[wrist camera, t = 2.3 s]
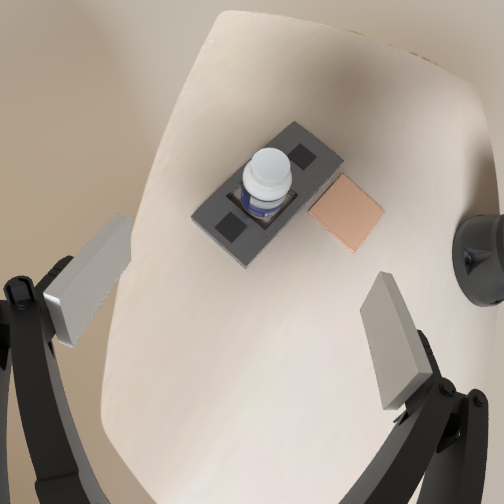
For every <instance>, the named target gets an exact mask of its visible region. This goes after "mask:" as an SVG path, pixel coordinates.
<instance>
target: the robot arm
mask: <svg viewBox="0 0 504 504" xmlns="http://www.w3.org/2000/svg"><path fill="white" fill-rule="evenodd" d="M130 261H131V216H128V215H124V214H119V213H118V214H117V215H116V216H115V217H114V218H113V219H112V220H110V221H109V222H108V223H107V224H106V225H105V226H104V227H103V228H102V229H101V231H99V232H98V234H96V235H95V236H94V237H93V238H92V240H90V242H88V243H87V245H86V246H85V247H84V248H83V249H82V250H81V251H80V252H79V253H78V254H77V255H76V256H75V257H72V256H66V257H65V258H63V259H61V260H59V261H58V262H57V263H56V264H55V265H54V267H53V269H51V270H50V271H49V272H48V274H46V275H45V276H44V277H43V278H42V280H41V281H40V282H39V283H38V284H37V285H36V286H35V287H34V285H33V282H32V279H30V278H29V277H27V276H17V277H14V278H12V279H11V280H9V281H8V282H7V283H6V284H5V286H4V289H3V290H4V293H5V296H6V299H7V300H0V504H10V494H9V483H8V471H7V450H6V429H7V405H8V392H9V381H10V373H11V365H13V374H14V381H15V388H16V395H17V400H18V406H19V411H20V416H21V421H22V426H23V430H24V434H25V438H26V442H27V446H28V449H29V453H30V457H31V460H32V463H33V466H34V470H35V473H36V477H37V480H36V482H35V490H36V493H37V496H38V499H39V502H40V504H111V503H110V502H109V500H108V498H107V497H106V495H105V494H104V493H103V491H102V489H101V487H100V485H99V483H98V481H97V479H96V477H95V475H94V473H93V470H92V468H91V466H90V463H89V461H88V458H87V456H86V454H85V451H84V449H83V446H82V443H81V441H80V438H79V435H78V433H77V430H76V427H75V424H74V421H73V418H72V415H71V412H70V409H69V405H68V402H67V399H66V395H65V392H64V388H63V385H62V381H61V377H60V373H59V369H58V365H57V360H56V356H55V351H54V346H53V342H52V340H51V339H52V338H53V336H54V335H55V333H56V335H57V338H58V341H59V342H60V343H62V344H64V345H67V346H69V347H72V348H74V346H75V345H76V343H77V341H78V340H79V338H80V336H81V335H82V333H83V332H84V330H85V328H86V327H87V325H88V324H89V322H90V320H91V319H92V317H93V316H94V314H95V313H96V311H97V310H98V308H99V306H100V305H101V303H102V302H103V300H104V299H105V297H106V296H107V294H108V293H109V291H110V290H111V288H112V287H113V286H114V284H115V283H116V281H117V280H118V278H119V277H120V275H121V274H122V273H123V271H124V270H125V268H126V267H127V265H128V264H129V263H130ZM453 264H454V270H455V274H456V278H457V281H458V283H459V286H460V288H461V290H462V291H463V293H464V294H465V296H466V297H467V298H468V299H469V300H470V301H471V302H472V303H473V304H475V305H477V306H480V307H487V306H494V305H497V304H499V303H501V302H502V301H504V214H503V215H477V216H474V217H472V218H470V219H468V220H466V221H464V222H463V223H462V224H461V225H460V226H459V228H458V230H457V232H456V235H455V238H454V243H453ZM360 313H361V317H362V320H363V324H364V328H365V332H366V336H367V340H368V344H369V348H370V352H371V356H372V360H373V364H374V369H375V373H376V378H377V382H378V387H379V392H380V397H381V402H382V407H383V410H398V409H399V408H400V407H401V406H402V405H403V404H404V403H405V406H406V410H405V411H404V412H403V413H402V414H401V415H400V416H399V417H397V418H396V419H395V420H394V421H393V422H394V423H395V422H397V423H396V425H395V426H394V428H393V430H392V431H391V433H390V434H389V436H388V438H387V439H386V441H385V442H384V444H383V445H382V447H381V448H380V450H379V451H378V453H377V454H376V456H375V457H374V458H373V460H372V461H371V463H370V464H369V465H368V467H367V468H366V470H365V471H364V472H363V474H362V475H361V476H360V478H359V479H358V480H357V482H356V483H355V484H354V485H353V487H352V488H351V489H350V490H349V492H348V493H347V494H346V495H345V497H344V498H343V499H342V500H341V501H340V502H339V504H408V502H409V500H410V499H411V497H412V495H413V493H414V492H415V490H416V488H417V486H418V484H419V482H420V481H421V479H422V477H423V475H424V473H425V476H424V479H423V483H422V487H421V490H420V494H419V497H418V501H417V504H481V500H482V493H483V487H484V480H485V471H486V461H487V448H488V400H487V398H486V396H485V394H484V393H483V392H481V391H480V390H478V389H472V390H471V391H470V392H469V393H468V394H467V395H465V394H462V393H459V392H456V388H455V386H454V385H453V383H452V382H451V381H450V380H448V379H446V378H444V377H442V376H441V373H440V370H439V367H438V365H437V362H436V360H435V357H434V355H433V352H432V349H431V348H430V345H429V342H428V340H427V338H426V336H425V335H424V334H423V333H422V331H421V330H416V327H415V325H414V323H413V320H412V318H411V316H410V313H409V311H408V309H407V306H406V304H405V302H404V300H403V297H402V295H401V293H400V291H399V289H398V286H397V284H396V282H395V280H394V278H393V276H392V274H389V273H385V272H381V271H380V272H379V274H378V276H377V278H376V280H375V282H374V284H373V286H372V288H371V290H370V291H369V293H368V295H367V297H366V299H365V301H364V303H363V305H362V307H361V308H360ZM459 433H460V435H459ZM425 471H426V472H425Z"/></svg>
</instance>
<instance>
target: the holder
mask: <svg viewBox="0 0 504 504" xmlns="http://www.w3.org/2000/svg"><path fill="white" fill-rule="evenodd" d="M264 148H275V149H278V150H280V151H282V152H283V153H284V154H285V155H286V156H287V157H288V159H289V161H290V171H291V174H292V183H291V186H290V189H289V191H288V193H289V194H290V195H291V196H293V197H294V198H295V200H294V201H293V202H292V203H291V204H290V205H289V206H288V207H287V208H286V209H285V210H284V211H283V212H282V213H281V214H280V215H279V216H278V218H277V219H276V220H275V221H274V222H273V223H272V224H271V225H270V226H269V227H268V228H267V229H266V230H264V229H263V228H261V227H260V226H259V225H258V224H257V223H256V222H255V221H254V220H252V219H251V218H250V217H249V216H248V215H247V214H245V213H244V212H243V211H242V210H241V209H240V208H239V207H237V206H236V205H235V204H234V203H233V202H232V201H231V200H229V199H228V198H229V197H230V196H231V195H232V194H233V193H234V192H235V191H236V190H237V189H238V188H239V187H240V186H241V185H242V178H243V172H244V168H245V166H246V165H247V163H248V162H249V161H250V160H249V161H248V162H247V163H246V164H245V165H244V166H243V167H242V168H241V169H240V170H239V171H237V172H236V173H235V174H234V175H233V176H232V177H231V178H230V179H229V180H228V181H227V182H226V183H225V184H224V185H223V186H221V187H220V188H219V189H218V190H217V191H216V192H215V193H214V194H213V195H212V196H211V197H210V198H209V199H208V200H207V201H206V202H205V203H204V204H203V205H202V206H201V207H200V208H199V209H198V210H197V211H196V212H195V213H194V214H193V215H192V216H191V219H192V221H193V222H194V223H195V224H197V225H198V226H199V227H200V228H201V229H202V230H203V231H204V232H205V233H206V234H207V235H209V236H210V237H211V238H212V239H213V240H214V241H215V242H216V243H217V244H218V245H219V246H221V247H222V248H223V249H224V250H225V251H226V252H227V253H228V254H229V255H230V256H232V257H233V258H234V259H235V260H236V261H237V262H238V263H239V264H240V265H241V266H243V267H244V268H245V269H246V268H247V267H248V266H249V265H250V263H251V262H252V261H253V260H254V259H255V258H256V257H257V256H258V255H259V254H260V253H261V252H262V250H263V249H264V248H265V247H266V246H267V245H268V244H269V243H270V242H271V241H272V240H273V239H274V237H275V236H276V235H277V234H278V233H279V232H280V231H281V230H282V229H283V228H284V227H285V226H286V224H287V223H288V222H289V221H290V220H291V219H292V218H293V217H294V216H295V215H296V214H297V212H298V211H299V210H300V209H301V208H302V207H303V206H304V205H305V204H306V203H307V202H308V200H309V199H310V198H311V197H312V196H313V195H314V194H315V193H316V192H317V191H318V190H319V188H320V187H321V186H322V185H323V184H324V183H325V182H326V181H327V180H328V179H329V177H330V176H331V175H332V174H333V173H334V172H335V171H336V170H337V169H338V168H339V166H340V165H341V164H342V162H343V161H344V160H343V159H341V158H340V157H339V156H338V155H337V154H335V153H334V152H333V151H332V150H330V149H329V148H328V147H327V146H325V145H324V144H323V143H322V142H320V141H319V140H318V139H317V138H315V137H314V136H313V135H312V134H310V133H309V132H308V131H306V130H305V129H304V128H302V127H301V126H300V125H298V124H297V123H296V122H293V123H291V124H290V125H289V126H288V127H287V128H286V129H284V130H283V131H282V132H281V133H280V134H279V135H277V136H276V137H275V138H274V139H273V140H272V141H271V142H270V143H268V144H267V145H266V146H265V147H264ZM264 148H263V149H264ZM251 160H252V159H251Z"/></svg>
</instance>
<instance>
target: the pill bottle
mask: <svg viewBox="0 0 504 504" xmlns="http://www.w3.org/2000/svg"><path fill="white" fill-rule="evenodd" d="M291 183H292V174H291V171H290V161H289V159H288V157H287V156H286V155H285V154H284V153H283V152H282V151H280V150H278V149H275V148H264V149H261V150H259V151H257V152H256V153H255V154H254V156H253V157H252V160H250V161H249V162H248V163H247V165H246V166H245V168H244V172H243V178H242V189H241V203H242V206H243V208H244V210H245V211H246V212H247V213H248V214H249V215H251V216H253V217H255V218H260V219H265V218H270V217H272V216H274V215H275V214H276V213H278V211H279V210H280V208H281V207H282V204H283V202H284V200H285V198H286V195H287V193H288V191H289V189H290V186H291Z"/></svg>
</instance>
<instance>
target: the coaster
mask: <svg viewBox="0 0 504 504" xmlns="http://www.w3.org/2000/svg"><path fill="white" fill-rule="evenodd" d="M384 212H385V211H384V210H383V209H382V208H381V207H380V206H378V205H377V204H376V203H375V202H374V201H373V200H372V199H371V198H370V197H369V196H368V195H367V194H365V193H364V192H363V191H362V190H361V189H360V188H359V187H358V186H357V185H355V184H354V183H353V182H352V181H351V180H350V179H349V178H347V177H346V176H345V175H344V174H342V175H341V176H340V177H339V178H338V179H337V180H336V181H335V183H334V184H333V185H332V186H331V187H330V188H329V189H328V190H327V191H326V193H325V194H324V195H323V196H322V197H321V198H320V199H319V200H318V202H317V203H316V204H315V205H314V206H313V207H312V208H311V209H310V210H309V213H310V214H311V215H312V216H313V217H314V218H315V219H316V220H318V221H319V222H320V223H321V224H322V225H323V226H324V227H325V228H327V229H328V230H329V231H330V232H331V233H332V234H333V235H334V236H335V237H337V238H338V239H339V240H340V241H341V242H342V243H343V244H344V245H345V246H346V247H347V248H349V249H350V250H351V251H352V252H353V253H355V251H356V250H357V249H358V248H359V246H360V245H361V244H362V242H363V241H364V240H365V238H366V237H367V235H368V234H369V233H370V231H371V230H372V229H373V227H374V226H375V225H376V223H377V222H378V220H379V219H380V218H381V216H382V215H383V213H384Z"/></svg>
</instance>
